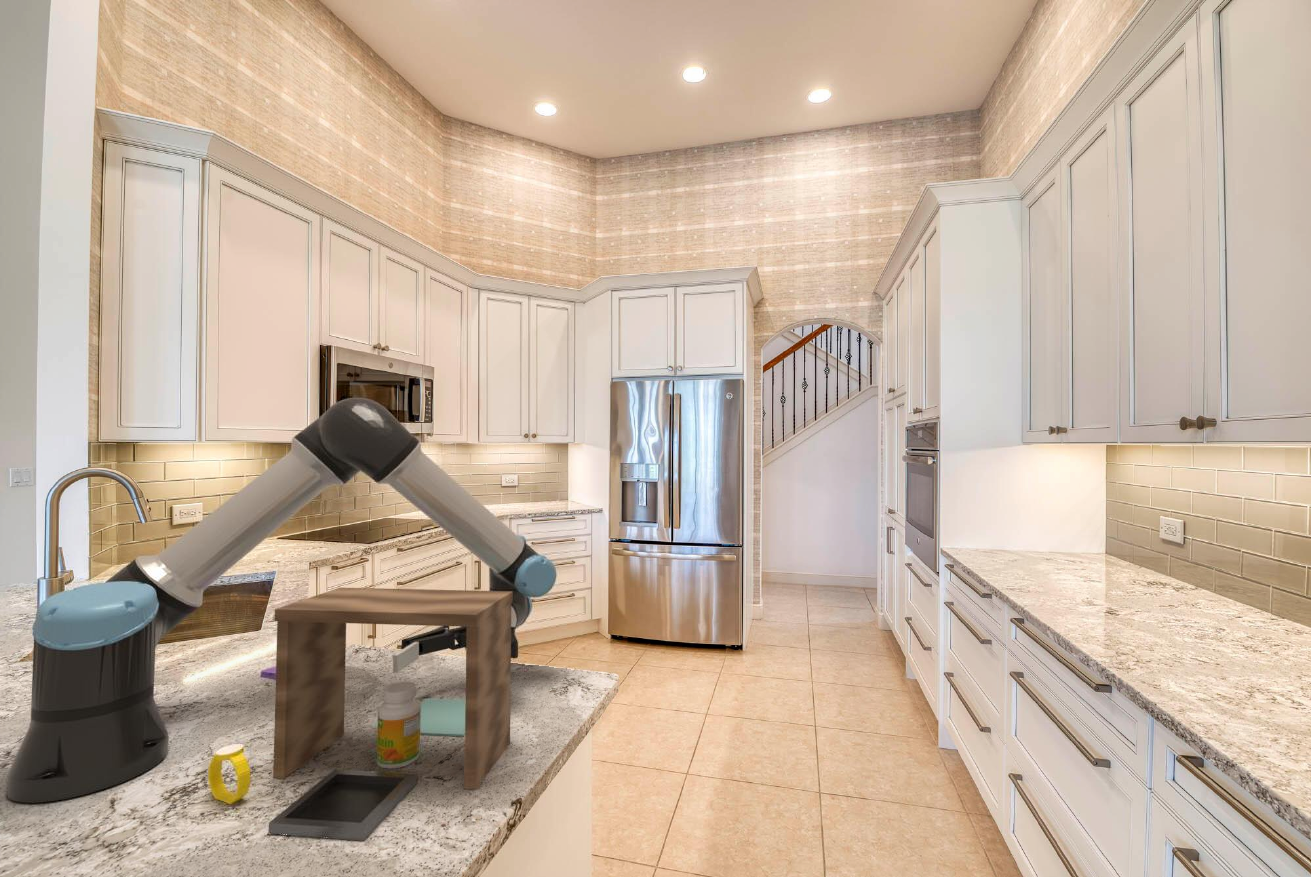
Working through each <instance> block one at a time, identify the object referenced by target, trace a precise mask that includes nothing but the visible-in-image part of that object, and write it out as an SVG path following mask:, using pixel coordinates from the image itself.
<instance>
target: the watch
mask: <svg viewBox="0 0 1311 877" xmlns="http://www.w3.org/2000/svg"><path fill="white" fill-rule="evenodd" d="M244 749H245V745H243V744H242V743H234V744H229V745H226V746H223V747H221V748H219V749H217V750H216V752H215V753H214V754H215V755H214V756H213V757H211V761H210V763H209V766H208V769H207V770H208V772H207V781H208V785H209V789H210V792H211V794H212V796H213V798H214V800H218V801H221V802H224V803H226V804H229V805H232V804H234V803H237V802H238V801H240V800H242V799H243V798H244V797H246V795H247V793H248V792H249V789H250V785H251V779H252V778H251V768H250V765H249V761H248V760H247V757H246V756H245V754H244V751H245V750H244ZM227 760H229V761H230V763H231V764H232V765H233V767H234V772H235V775H236V779H237V780H236V782H237V784H236V786H237V787H236V791H235V793H234V792H231V791H230V790H228V788H227V787H226V785H225V783H224V780H223V779H224V778H223V774H222V768H223V761H227Z"/></svg>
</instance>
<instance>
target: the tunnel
mask: <svg viewBox="0 0 1311 877" xmlns="http://www.w3.org/2000/svg"><path fill="white" fill-rule="evenodd" d="M512 602H513V591H489V590H465V589H464V590H463V589H460V590H458V589H422V588H421V589H419V588H418V589H416V588H415V589H414V588H380V587H379V588H377V587H376V588H373V587H371V588H369V587H337V588H334V589H331V590H328V591H326V592H322V593H319V594H316V595H313V596H311V597H308V598H305V599H302V600H299V601H295V602H293V603H290V604H286V605H284V606H281V607H278V608H275V609H274V622H277V623H276V627H277V628H276V654H275V655H276V658H275V659H276V660H275V662H276V663H275V664H276V665H275V666H276V679H275V698H274V728H273V729H274V730H273V731H274V732H273V734H274V735H273V736H274V737H273V767H272V768H273V771H272V772H273V774H272V778H273V779H286V778H287V777H288V776H289V775H291V774H293V772H295V771H296V770H298V769H299V768H300V767H302V766H304V764H306V763H308V762H309V760H311V759H312V758H314V757H315V756H317V755H318V754H319V753H321V752H322V751H323V750H324V749H326V748H328V747H329V746H330V745H332V744H333V743H335V741H337V740H338V739H340V738H341V737H343V736H344V735H345V702H346V701H345V698H346V694H345V693H346V692H345V691H346V656H347V655H346V652H347V650H346V649H347V646H346V645H347V624H358V625H359V624H360V625H361V624H365V625H367V624H368V625H393V626H394V625H396V626H397V625H398V626H433V627H443V626H449V627H467V628H466V648H465V700H466V702H465V735H464V781H463V782H464V785H463V786H464V787H463V788H464V790H475V791H476V790H477V789H478V788H479V786H480V784H482V782H483V781H484V780H485V778H486V776H487V775H488V774H489V772H490V771H491V770H492V768H493V767H494V766H495V764H496V762H497V761H498V760H499V759H500V757H501V756H502V754H503V753H504V752H505V750H506V749H507V748H508V746H509V745H510V743H511V688H512V687H511V685H512V684H511V683H512V681H511V680H512V679H511V678H512V677H511V673H512V672H511V671H512V670H511V669H512V668H511V667H512V665H511V664H512V658H511V603H512Z"/></svg>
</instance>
